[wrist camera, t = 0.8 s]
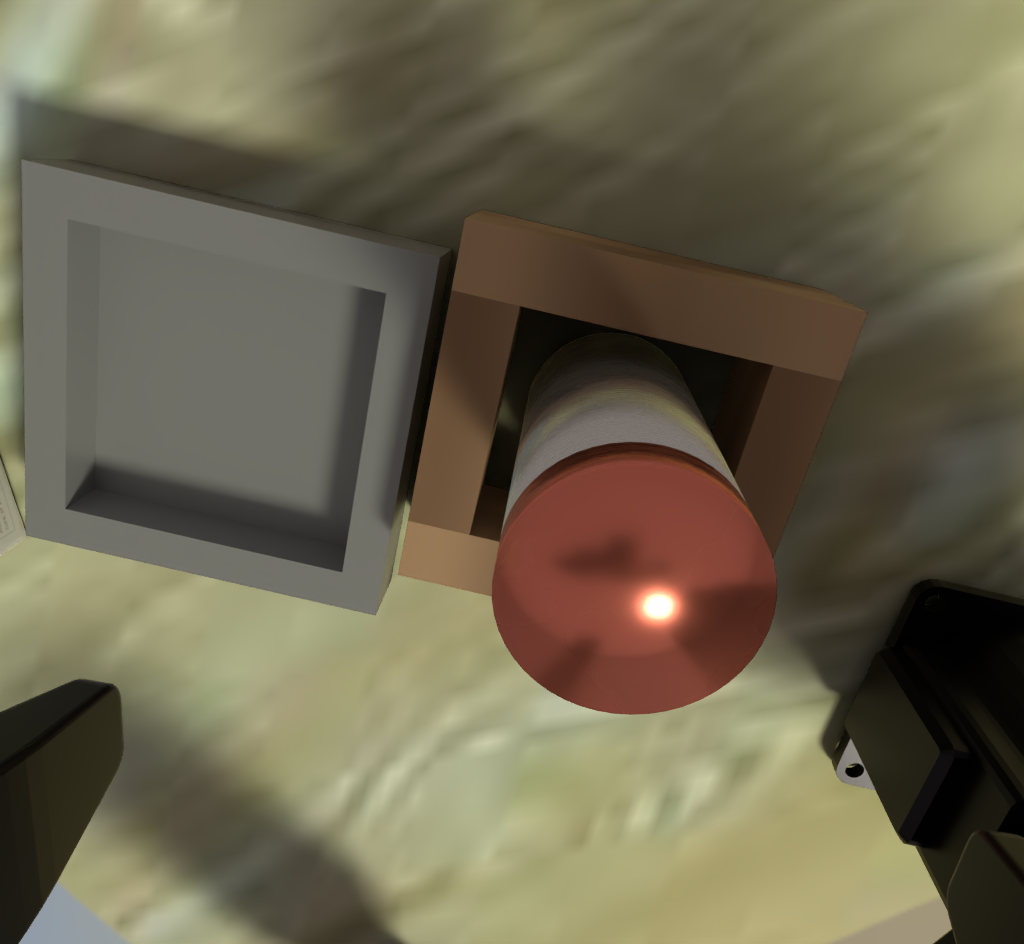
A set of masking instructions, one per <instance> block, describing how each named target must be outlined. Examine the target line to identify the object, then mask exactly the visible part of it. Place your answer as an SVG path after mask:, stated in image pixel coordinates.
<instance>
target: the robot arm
mask: <svg viewBox="0 0 1024 944" xmlns="http://www.w3.org/2000/svg"><path fill="white" fill-rule="evenodd" d="M934 595H939V598H938V600H937V601H936V602H935V603H932V604H925V602H926V600H927V599H928V598H929V597H931V596H934ZM844 725H845V728H846V730H845V732H844V734H843V736H842V738H841V741H840V743H839V745H838V747H837V749H836V751H835V753H834V755H833V759H832V764H833V767H834V770H835V772H836V774H837V777H838V778H839V779H840V780H841V781H842V782H844V783H847V784H850V785H854V786H859V787H863V788H867V789H872V790H876V792H877V794H878V796H879V798H880V800H881V802H882V804H883V806H884V809H885V811H886V813H887V815H888V817H889V819H890V821H891V823H892V825H893V827H894V829H895V831H896V833H897V835H898V836H899V838H900V840H901V841H902V842H903V843H904V844H908V845H913V846H916V848H917V850H918V852H919V854H920V856H921V858H922V860H923V862H924V864H925V866H926V868H927V870H928V872H929V874H930V876H931V878H932V880H933V882H934V884H935V886H936V888H937V890H938V892H939V894H940V896H941V898H942V900H943V902H944V904H945V906H946V908H947V910H948V914H949V919H950V922H951V926H952V929H951V930H950V931H948V932H947V933H946V934H945V935H943V936H942V937H941V938H939V939H938V940H937V941H936V942H935V943H933V944H1024V599H1019V598H1015V597H1011V596H1006V595H1002V594H998V593H993V592H989V591H985V590H980V589H976V588H972V587H967V586H963V585H959V584H954V583H950V582H946V581H941V580H937V579H927V580H924V581H921V582H919V583H918V584H916V585H915V586H914V587H913V588H912V590H911V591H910V593H909V595H908V597H907V599H906V601H905V604H904V606H903V608H902V610H901V612H900V614H899V616H898V619H897V621H896V623H895V625H894V627H893V629H892V631H891V634H890V636H889V638H888V640H887V642H886V644H885V646H884V647H883V648H882V649H880V650H879V651H878V652H877V653H876V655H875V657H874V659H873V661H872V663H871V666H870V668H869V670H868V672H867V674H866V676H865V679H864V681H863V683H862V685H861V687H860V689H859V691H858V694H857V696H856V698H855V700H854V702H853V704H852V707H851V709H850V711H849V713H848V715H847V717H846V719H845V722H844ZM123 749H124V740H123V724H122V707H121V696H120V692H119V690H118V688H117V687H116V686H114V685H113V684H110V683H104V682H98V681H92V680H86V679H78V680H74V681H71V682H69V683H66V684H64V685H62V686H60V687H57V688H55V689H53V690H50V691H48V692H46V693H43V694H41V695H39V696H36V697H34V698H32V699H29V700H27V701H25V702H23V703H20V704H18V705H16V706H13V707H11V708H9V709H6V710H4V711H2V712H0V944H18V943H19V942H20V941H21V939H22V938H23V936H24V934H25V933H26V932H27V930H28V929H29V927H30V925H31V924H32V922H33V921H34V919H35V918H36V916H37V915H38V913H39V911H40V910H41V908H42V907H43V905H44V903H45V901H46V900H47V898H48V896H49V895H50V893H51V891H52V890H53V888H54V886H55V884H56V883H57V881H58V879H59V877H60V875H61V873H62V872H63V870H64V868H65V866H66V864H67V862H68V860H69V859H70V857H71V855H72V853H73V851H74V849H75V848H76V846H77V844H78V842H79V840H80V838H81V837H82V835H83V833H84V831H85V829H86V827H87V825H88V824H89V822H90V820H91V818H92V816H93V814H94V813H95V811H96V809H97V807H98V805H99V803H100V802H101V800H102V798H103V796H104V794H105V792H106V790H107V789H108V787H109V785H110V783H111V781H112V779H113V778H114V776H115V774H116V772H117V770H118V768H119V765H120V763H121V759H122V756H123ZM852 763H858V764H857V765H856V766H854V767H852V768H847V766H848V765H850V764H852Z"/></svg>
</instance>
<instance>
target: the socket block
mask: <svg viewBox="0 0 1024 944" xmlns="http://www.w3.org/2000/svg"><path fill="white" fill-rule="evenodd" d="M523 307H526V308H530V309H535V310H539V311H543V312H547V313H552V314H556V315H560V316H565V317H569V318H573V319H577V320H582V321H586V322H590V323H594V324H599V325H603V326H607V327H612V328H616V329H620V330H624V331H629V332H633V333H637V334H642V335H646V336H650V337H654V338H659V339H663V340H667V341H671V342H676V343H680V344H684V345H689V346H693V347H697V348H701V349H706V350H710V351H714V352H718V353H723V354H727V355H731V356H736V360H735V363H734V366H733V369H732V372H731V375H730V378H729V381H728V384H727V387H726V390H725V393H724V396H723V399H722V402H721V405H720V408H719V411H718V414H717V417H716V420H715V423H714V426H713V429H712V433H711V434H712V436H713V438H714V440H715V442H716V444H717V446H718V448H719V450H720V452H721V454H722V456H723V458H724V460H725V462H726V463H727V465H728V467H729V469H730V471H731V473H732V475H733V477H734V479H735V481H736V483H737V485H738V487H739V489H740V491H741V493H742V495H743V497H744V499H745V501H746V503H747V505H748V507H749V509H750V511H751V513H752V515H753V517H754V519H755V521H756V523H757V525H758V526H759V528H760V530H761V532H762V534H763V536H764V539H765V541H766V543H767V545H768V547H769V549H770V552H771V555H772V559H773V557H774V554H775V552H776V549H777V547H778V544H779V542H780V539H781V536H782V534H783V531H784V529H785V526H786V523H787V521H788V518H789V516H790V513H791V510H792V508H793V505H794V503H795V500H796V497H797V495H798V492H799V490H800V487H801V485H802V482H803V479H804V477H805V474H806V472H807V469H808V466H809V464H810V461H811V459H812V456H813V453H814V451H815V448H816V446H817V443H818V441H819V438H820V435H821V433H822V430H823V428H824V425H825V422H826V420H827V417H828V415H829V412H830V409H831V407H832V404H833V402H834V399H835V396H836V394H837V391H838V389H839V386H840V384H841V381H842V378H843V376H844V373H845V371H846V368H847V365H848V363H849V360H850V358H851V355H852V352H853V350H854V347H855V345H856V342H857V340H858V337H859V334H860V332H861V329H862V327H863V324H864V321H865V319H866V316H867V314H868V313H867V312H865V311H863V310H861V309H859V308H857V307H856V306H854V305H852V304H850V303H848V302H846V301H844V300H842V299H840V298H838V297H836V296H834V295H832V294H830V293H828V292H826V291H824V290H821V289H817V288H813V287H808V286H804V285H800V284H796V283H791V282H787V281H783V280H779V279H774V278H770V277H766V276H762V275H757V274H753V273H749V272H745V271H740V270H736V269H732V268H728V267H723V266H719V265H715V264H711V263H706V262H702V261H698V260H694V259H689V258H685V257H681V256H677V255H672V254H668V253H664V252H660V251H655V250H651V249H647V248H643V247H638V246H634V245H630V244H626V243H621V242H617V241H613V240H609V239H604V238H600V237H596V236H592V235H587V234H583V233H579V232H575V231H570V230H566V229H562V228H558V227H553V226H549V225H545V224H541V223H536V222H532V221H528V220H524V219H519V218H515V217H511V216H507V215H502V214H498V213H494V212H490V211H485V210H480V211H478V212H476V213H474V214H472V215H470V216H468V217H466V218H465V221H464V226H463V231H462V237H461V242H460V247H459V253H458V258H457V263H456V269H455V274H454V279H453V285H452V290H451V295H450V301H449V306H448V311H447V316H446V322H445V327H444V332H443V338H442V343H441V348H440V354H439V359H438V364H437V370H436V375H435V380H434V386H433V391H432V396H431V402H430V407H429V412H428V418H427V423H426V428H425V434H424V439H423V444H422V450H421V455H420V460H419V465H418V471H417V476H416V481H415V487H414V492H413V497H412V503H411V508H410V513H409V519H408V524H407V529H406V535H405V540H404V545H403V551H402V556H401V561H400V567H399V572H398V575H401V576H406V577H410V578H414V579H419V580H423V581H428V582H432V583H436V584H441V585H445V586H449V587H454V588H458V589H462V590H467V591H471V592H475V593H480V594H484V595H489V596H492V580H493V574H494V568H495V562H496V557H497V552H498V547H499V542H500V537H501V532H502V527H503V522H504V517H505V512H506V507H507V501H508V496H509V490H505V489H501V488H496V487H492V486H488V485H484V480H485V476H486V471H487V467H488V462H489V458H490V453H491V449H492V444H493V440H494V435H495V431H496V426H497V422H498V417H499V413H500V408H501V404H502V399H503V395H504V390H505V386H506V381H507V377H508V373H509V368H510V364H511V359H512V355H513V350H514V346H515V341H516V337H517V332H518V328H519V323H520V319H521V314H522V310H523Z"/></svg>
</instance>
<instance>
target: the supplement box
mask: <svg viewBox="0 0 1024 944" xmlns="http://www.w3.org/2000/svg"><path fill="white" fill-rule="evenodd" d="M25 538H26V531H25V528H24V525H23V522H22V519H21V516H20V514H19V511H18V508H17V505H16V502H15V500H14V497H13V494H12V491H11V488H10V485H9V482H8V479H7V476H6V473H5V470H4V467H3V464H2V462H1V459H0V556H1V555H2V554H4V553H5V552H6V551H8V550H9V549H11V548H12V547H14V546H15V545H17V544H18V543H19V542H21V541H22V540H23V539H25Z"/></svg>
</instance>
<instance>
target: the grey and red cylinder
mask: <svg viewBox="0 0 1024 944" xmlns="http://www.w3.org/2000/svg"><path fill="white" fill-rule="evenodd" d="M776 599H777V579H776V572H775V565H774V562H773V559H772V555H771V552H770V549H769V547H768V545H767V543H766V541H765V539H764V536H763V534H762V532H761V530H760V528H759V526H758V525H757V523H756V521H755V519H754V517H753V515H752V513H751V511H750V509H749V507H748V505H747V503H746V501H745V499H744V497H743V495H742V493H741V491H740V489H739V487H738V485H737V483H736V481H735V479H734V477H733V475H732V473H731V471H730V469H729V467H728V465H727V463H726V462H725V460H724V458H723V456H722V454H721V452H720V450H719V448H718V446H717V444H716V442H715V440H714V438H713V436H712V434H711V432H710V430H709V428H708V426H707V424H706V422H705V420H704V418H703V416H702V414H701V412H700V410H699V408H698V406H697V404H696V402H695V400H694V398H693V397H692V395H691V393H690V391H689V389H688V387H687V385H686V383H685V381H684V379H683V377H682V375H681V373H680V371H679V370H678V368H677V367H676V365H675V364H674V362H673V361H672V360H671V359H670V358H669V357H668V356H667V355H666V354H665V353H664V352H663V351H662V350H660V349H659V348H658V347H656V346H655V345H653V344H651V343H650V342H648V341H646V340H643V339H641V338H639V337H635V336H632V335H629V334H623V333H609V332H606V333H596V334H592V335H587V336H584V337H581V338H578V339H576V340H574V341H572V342H570V343H568V344H566V345H564V346H563V347H562V348H560V349H559V350H557V351H556V352H555V353H554V354H553V355H552V356H550V357H549V358H548V359H547V361H546V362H545V363H544V364H543V365H542V367H541V368H540V370H539V371H538V373H537V375H536V376H535V379H534V381H533V383H532V385H531V388H530V392H529V395H528V400H527V405H526V410H525V415H524V420H523V425H522V430H521V435H520V441H519V446H518V451H517V456H516V461H515V466H514V471H513V476H512V481H511V486H510V491H509V496H508V501H507V507H506V512H505V517H504V522H503V527H502V532H501V537H500V542H499V547H498V552H497V557H496V562H495V568H494V574H493V580H492V603H493V611H494V616H495V620H496V623H497V626H498V630H499V632H500V634H501V637H502V639H503V641H504V643H505V645H506V647H507V648H508V650H509V651H510V653H511V655H512V656H513V658H514V659H515V660H516V661H517V663H518V664H519V665H520V666H521V667H522V669H523V670H524V671H525V672H526V673H527V674H529V675H530V676H531V677H532V678H533V679H534V680H535V681H536V682H537V683H539V684H540V685H542V686H543V687H544V688H546V689H547V690H549V691H550V692H552V693H554V694H556V695H557V696H559V697H561V698H563V699H565V700H567V701H570V702H572V703H574V704H577V705H579V706H582V707H586V708H589V709H593V710H596V711H602V712H608V713H614V714H630V715H632V714H650V713H657V712H663V711H668V710H672V709H676V708H680V707H683V706H686V705H688V704H691V703H694V702H696V701H699V700H701V699H703V698H705V697H706V696H708V695H710V694H712V693H714V692H716V691H717V690H719V689H720V688H721V687H723V686H724V685H726V684H727V683H729V682H730V681H731V680H732V679H733V678H734V677H736V676H737V675H738V674H739V673H740V672H741V671H742V670H743V669H744V668H745V667H746V666H747V664H748V663H749V662H750V661H751V660H752V659H753V657H754V656H755V654H756V653H757V651H758V650H759V648H760V647H761V645H762V644H763V641H764V639H765V637H766V635H767V633H768V631H769V629H770V626H771V622H772V619H773V616H774V612H775V606H776Z"/></svg>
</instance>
